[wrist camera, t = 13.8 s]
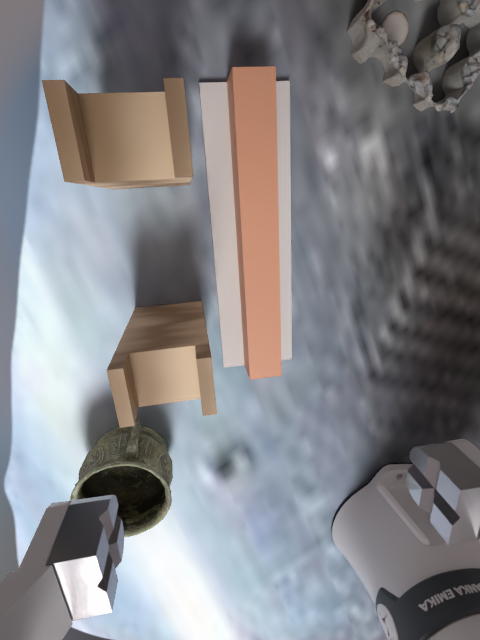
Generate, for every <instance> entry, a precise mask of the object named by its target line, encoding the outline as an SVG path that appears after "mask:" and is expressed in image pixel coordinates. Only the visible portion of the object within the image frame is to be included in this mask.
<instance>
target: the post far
mask: <svg viewBox="0 0 480 640" xmlns="http://www.w3.org/2000/svg"><path fill="white" fill-rule="evenodd" d="M107 373H108V378H109V382H110V387H111V391H112V396H113V400H114V405H115V409H116V414H117V418H118V422H119V427H120V428H123V427H130V426H135V423H136V418H137V413H138V409H139V407H143V406H150V405H158V404H165V403H172V402H179V401H186V400H193V399H201V404H202V413H203V416H205V415H212V414H217V409H216V399H215V389H214V379H213V369H212V359H211V352H210V347H209V341H208V335H207V329H206V323H205V318H204V312H203V306H202V301H195V302H185V303H175V304H165V305H156V306H146V307H136V308H135V309H134V312H133V314H132V316H131V318H130V320H129V323H128V325H127V327H126V329H125V331H124V334H123V336H122V338H121V340H120V342H119V345H118V347H117V349H116V351H115V353H114V356H113V358H112V360H111V362H110V364H109V367H108V369H107Z"/></svg>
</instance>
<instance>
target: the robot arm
mask: <svg viewBox="0 0 480 640" xmlns="http://www.w3.org/2000/svg"><path fill="white" fill-rule="evenodd" d="M409 459H410V460H411V461H412V462H413V464H390V465H386V466H384V467H383V468H382V469H381V470H380V471H379V472H378V473H377V474H376V475H375V477H374V478H373V479H372V481H371V482H370V483H369V484H368V485H366V486H365V487H364V488H362V489H361V490H359V491H358V492H357V493H355V494H354V495H353V496H352V497H351V498H349V499H348V500H347V501H346V503H345V504H344V505H343V506H342V507H341V509H340V510H339V512H338V514H337V515H336V518H335V520H334V523H333V528H332V537H333V541H334V543H335V545H336V547H337V548H338V549H339V550H340V551H341V553H342V554H343V555H344V556H345V558H346V559H347V560H348V562H349V563H350V564H351V566H352V567H353V569H354V570H355V572H356V573H357V575H358V576H359V578H360V579H361V581H362V583H363V584H364V586H365V588H366V589H367V591H368V593H369V594H370V596H371V598H372V599H373V601H374V603H375V605H376V610H377V613H378V616H379V619H380V622H381V624H382V627H383V629H384V631H385V634H386V636H387V638H388V640H480V449H478V448H477V447H476V446H475V445H474V444H472V443H471V442H470V441H468V440H466V439H458V440H452V441H447V442H440V443H434V444H428V445H422V446H416V447H413V449H412V450H411V451H410V457H409ZM118 506H119V505H118V502H117V498H116V496H115V495H107V496H100V497H92V498H85V499H77V500H73V501H65V502H58V503H52V504H51V505H50V506H49V507H48V508H47V509H46V511H45V513H44V515H43V517H42V519H41V522H40V524H39V526H38V528H37V530H36V533H35V535H34V537H33V539H32V541H31V543H30V546H29V548H28V550H27V552H26V554H25V556H24V559H23V561H22V563H21V565H20V567H19V569H18V571H15V572H11V573H10V574H9V575H7V576H6V577H5V578H4V579H3V580H2V581H1V582H0V640H62V639H63V637H64V636H65V634H66V633H67V631H68V630H69V628H70V627H71V625H72V621H75V620H79V619H84V618H88V617H92V616H97V615H101V614H105V613H110V612H112V609H113V604H114V598H115V593H116V588H117V582H118V579H117V575H116V571H115V568H116V567H117V566H118V565H119V563H120V562H121V560H122V554H123V547H124V529H123V523H122V518H120V517H119V516H117V510H118Z"/></svg>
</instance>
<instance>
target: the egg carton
mask: <svg viewBox="0 0 480 640" xmlns="http://www.w3.org/2000/svg"><path fill="white" fill-rule="evenodd" d="M384 1H385V0H368V1H367V3H366V5H365V6H364V8H363V9H362V10H361V11H360V12H359V13H358V14H357V15H356V16H355V17H354V18H353V20H352V22H351V23H350V25H349V27H348V29H347V33H348V34H349V36H350V38H351V40H352V47H353V49H352V57H353V58H354V59H355V60H356V61H358V62H359V63H362V62H365V61H366V60H367V59H368V58H369V57H375V58H378V59H380V60H381V62H382V63H383V66H384V71H385V75H384V79H383V82H384V83H386V84H388V85H390V86H392V87H394V86H399V85H400V84H402V83H404V82H406V84H407V85H408V87H409V88H410V89H412V90H413V91H414V93H415V99H414V103H413V106H414V107H415V108H416V109H418V110H419V111H423V110H425V109H426V108H428V107H436V110H437V111H442V110H447V111H450V113H453V112H454V111H455V110H456V109H457V107H458V105H457V104H458V102H459V101H460V99H461V98H462V97H463V95H464V94H465V93H466V92H467V91H468V90H469V89H470V88H471V87H472V86H473V85H474V81H475V79H476V78H477V76H478V75H479V74H480V0H439V1H440V4H439V7H438V11H437V17H438V22H439V24H440V25H441V26H442V27H440V28H439V29H437V30H436V31H434V32H433V33H431V34H430V35H428V36H427V37H426V38H424V39H423V40H421V41H420V42H419V43H418V44H417V45H416V47H415V49H414V52H413V64H414V66H415V68H416V70H418V71H419V72H421V73H417V74H413V75H411V76H410V77H408V78H406V71H407V65H408V57H405V56H403V54H402V49H401V48H399V45H400V44H402V43H403V42H404V40H405V39H406V36H407V33H408V21H407V19H406V17H405V16H404V14H403V13H402V12H398V11H395V12H392V13H390V14H388V15H387V16H386V18H385V19H384V21H383V23H382V27H381V26H380V25H378V24H376V23H375V22H374V20H372V17H371V14H372V13H373V12H374V11H375V10H376V9H377V8H378V7H379V6H380V5H381V4H382V3H383V2H384ZM414 1H417V2H418V1H422V0H414ZM462 23H464V24H465V25H466V26H467V27H468V28H469V32H468V35H467V39H466V45H467V49H468V51H469V53H470V54H469V57H467V58H465V59H463V60H461V61H459V62H457V63H455V64H453V65H452V66H450V67H449V68H448V69H447V70H446V71H445V72H444V74H443V77H442V89H443V91H444V93H445V94H446V95H445V98H444V99H443V100H441V101H439V102H436V103H434V102H433V101H432V99H431V98H432V97H433V94H432V88H433V84H432V82H431V80H430V72H429V71H431V70H433V69H435V68H437V70H438V67H439V66H441V65H443V64H445V63H446V62H448V61H449V60H450V59H451V58H452V57H453V56H454V54H455V53H456V52H457V51H458V49H459V47H460V38H461V28H460V26H459V25H460V24H462Z"/></svg>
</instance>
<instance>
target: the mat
mask: <svg viewBox="0 0 480 640" xmlns="http://www.w3.org/2000/svg"><path fill="white" fill-rule="evenodd" d="M199 91H200V102H201V114H202V125H203V137H204V148H205V160H206V171H207V183H208V194H209V206H210V217H211V229H212V240H213V252H214V263H215V275H216V286H217V298H218V309H219V321H220V332H221V344H222V355H223V366H224V368H225V367H232V366H240V365H244V349H243V333H242V316H241V300H240V284H239V268H238V252H237V236H236V220H235V204H234V188H233V172H232V156H231V139H230V123H229V107H228V91H227V82H206V83H199ZM276 108H277V160H278V212H279V264H280V316H281V360H287V359H292V320H291V178H290V81H276Z"/></svg>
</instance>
